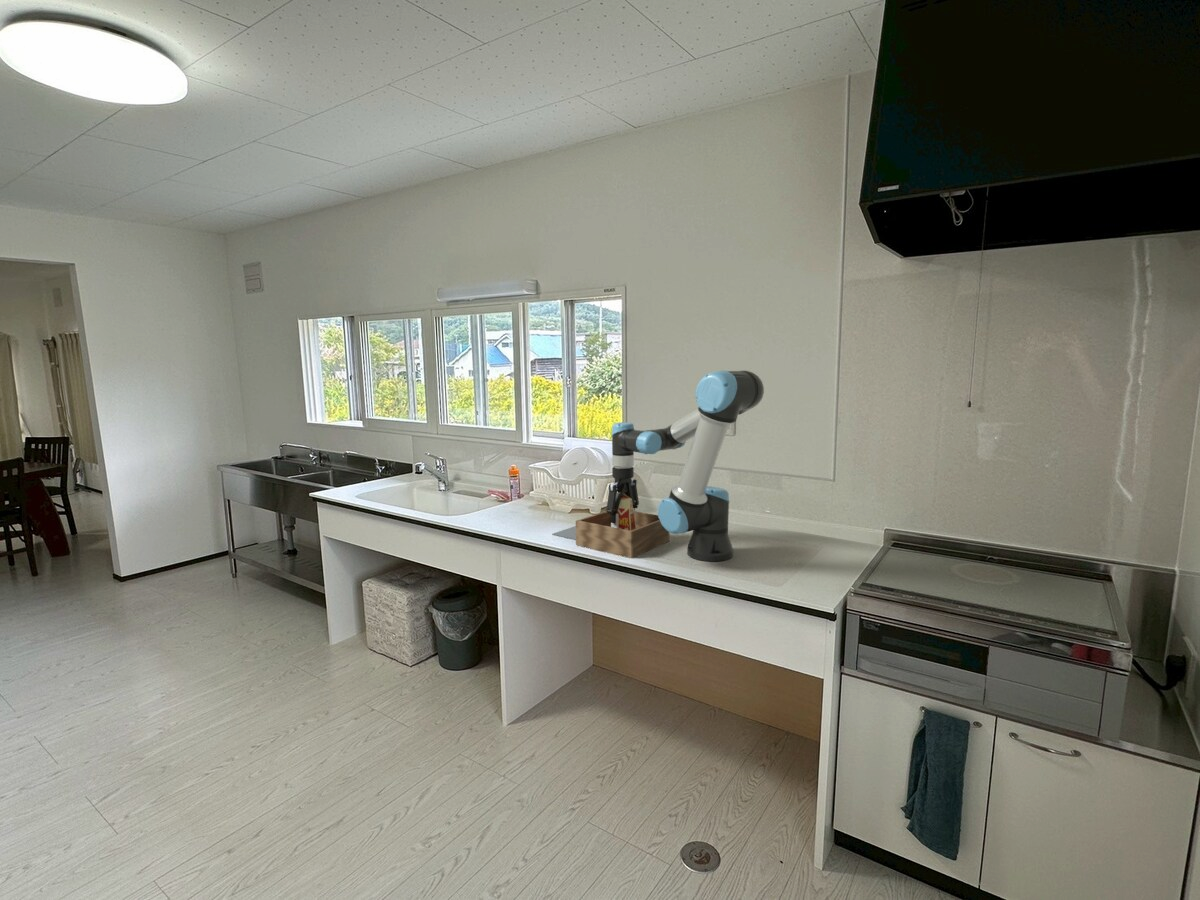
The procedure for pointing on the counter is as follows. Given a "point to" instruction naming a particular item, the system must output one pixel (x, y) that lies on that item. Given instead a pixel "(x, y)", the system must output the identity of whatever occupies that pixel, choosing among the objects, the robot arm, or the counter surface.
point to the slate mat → (567, 533)
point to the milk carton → (626, 513)
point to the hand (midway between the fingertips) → (623, 528)
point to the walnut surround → (621, 534)
